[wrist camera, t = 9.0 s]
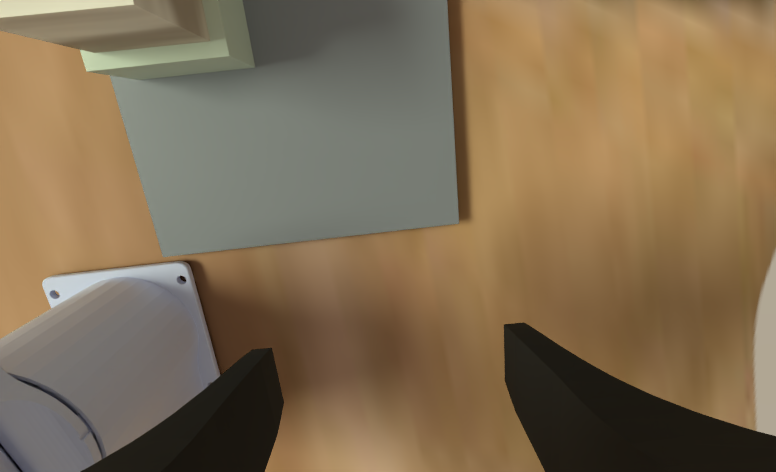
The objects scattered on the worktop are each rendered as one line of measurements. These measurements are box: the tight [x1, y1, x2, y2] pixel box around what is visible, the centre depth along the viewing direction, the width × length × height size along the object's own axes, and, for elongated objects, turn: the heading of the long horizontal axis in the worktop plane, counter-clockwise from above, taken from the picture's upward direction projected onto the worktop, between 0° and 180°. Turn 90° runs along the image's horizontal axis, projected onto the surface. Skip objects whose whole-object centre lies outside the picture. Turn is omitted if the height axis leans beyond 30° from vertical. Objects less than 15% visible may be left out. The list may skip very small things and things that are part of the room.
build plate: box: [110, 0, 459, 257], centre depth 19 cm, size 15×16×1 cm
